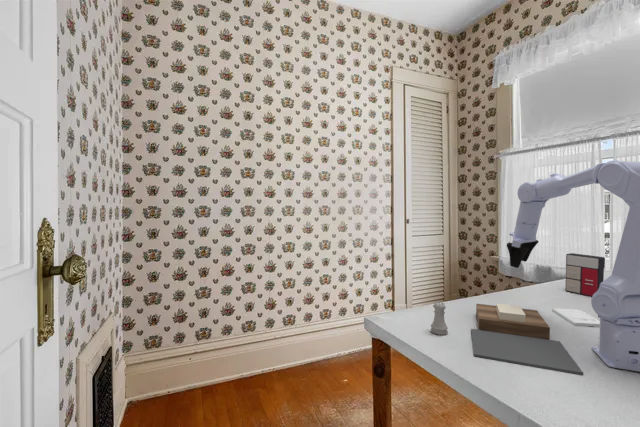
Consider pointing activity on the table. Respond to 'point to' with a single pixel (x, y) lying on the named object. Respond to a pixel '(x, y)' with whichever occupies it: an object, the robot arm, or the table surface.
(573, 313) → the external hard drive
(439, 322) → the rook chess piece
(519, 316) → the ivory tile
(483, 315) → the walnut deck
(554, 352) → the rubber mat
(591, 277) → the red and grey box
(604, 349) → the robot arm
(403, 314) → the table surface
